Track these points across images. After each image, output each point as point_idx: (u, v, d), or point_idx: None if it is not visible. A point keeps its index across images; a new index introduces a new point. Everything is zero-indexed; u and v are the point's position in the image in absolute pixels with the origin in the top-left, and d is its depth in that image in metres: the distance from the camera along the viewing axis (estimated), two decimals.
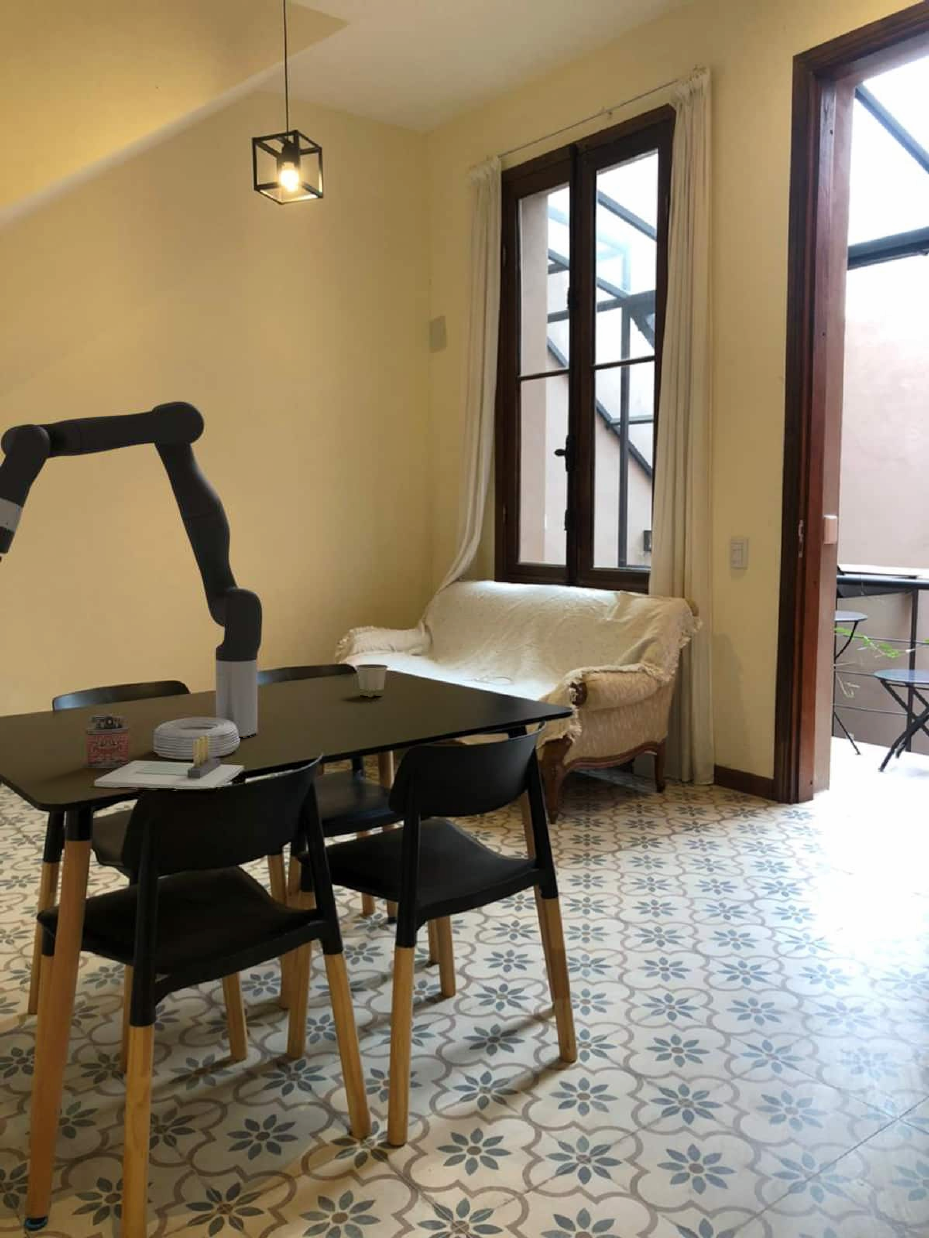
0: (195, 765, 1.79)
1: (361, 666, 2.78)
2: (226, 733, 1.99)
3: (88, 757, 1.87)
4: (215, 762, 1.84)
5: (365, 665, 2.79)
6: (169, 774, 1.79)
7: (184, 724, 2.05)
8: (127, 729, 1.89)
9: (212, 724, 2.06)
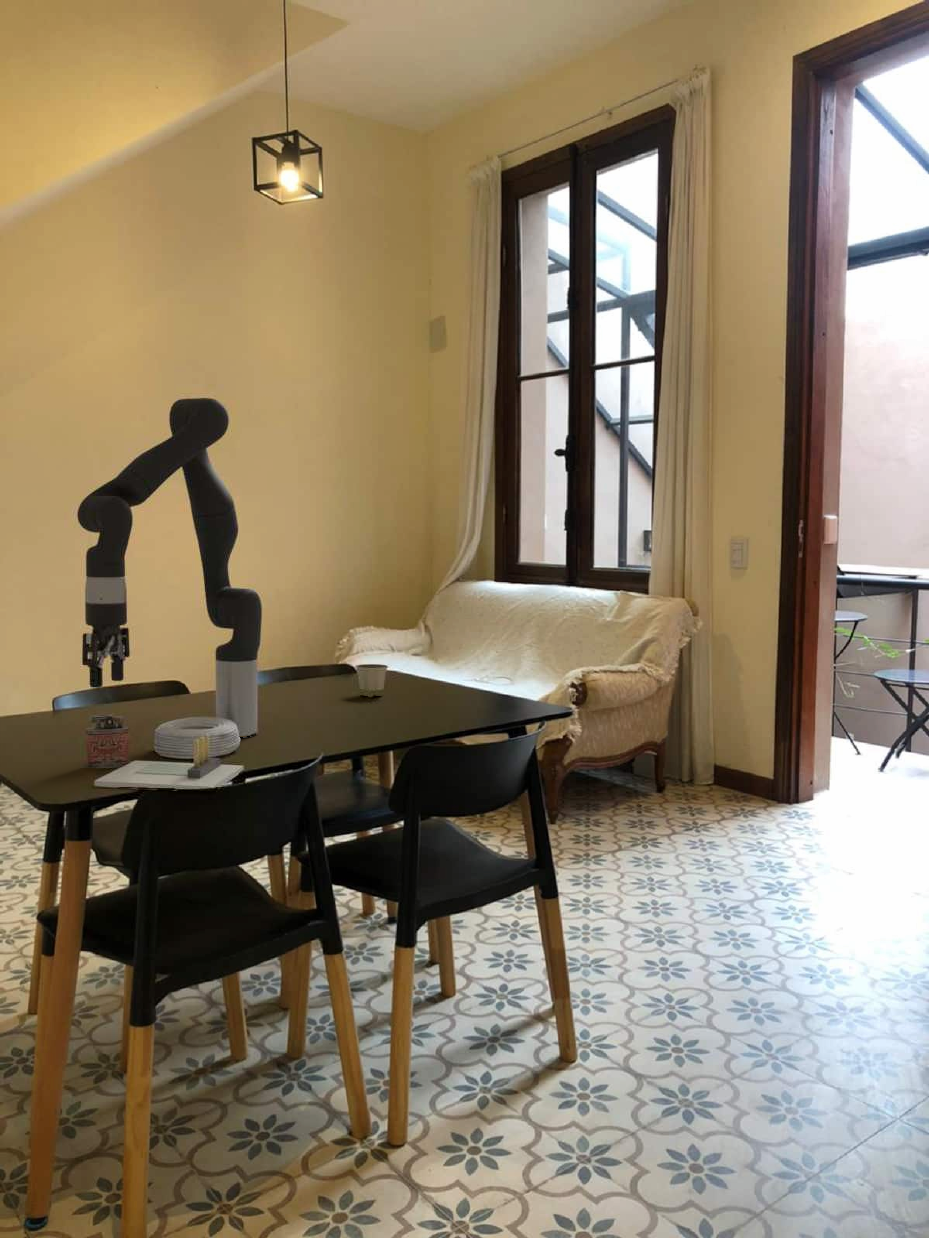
0: (195, 765, 1.79)
1: (361, 666, 2.78)
2: (227, 733, 1.99)
3: (88, 757, 1.87)
4: (215, 762, 1.84)
5: (365, 665, 2.79)
6: (169, 774, 1.79)
7: (185, 724, 2.06)
8: (127, 729, 1.89)
9: (213, 724, 2.06)
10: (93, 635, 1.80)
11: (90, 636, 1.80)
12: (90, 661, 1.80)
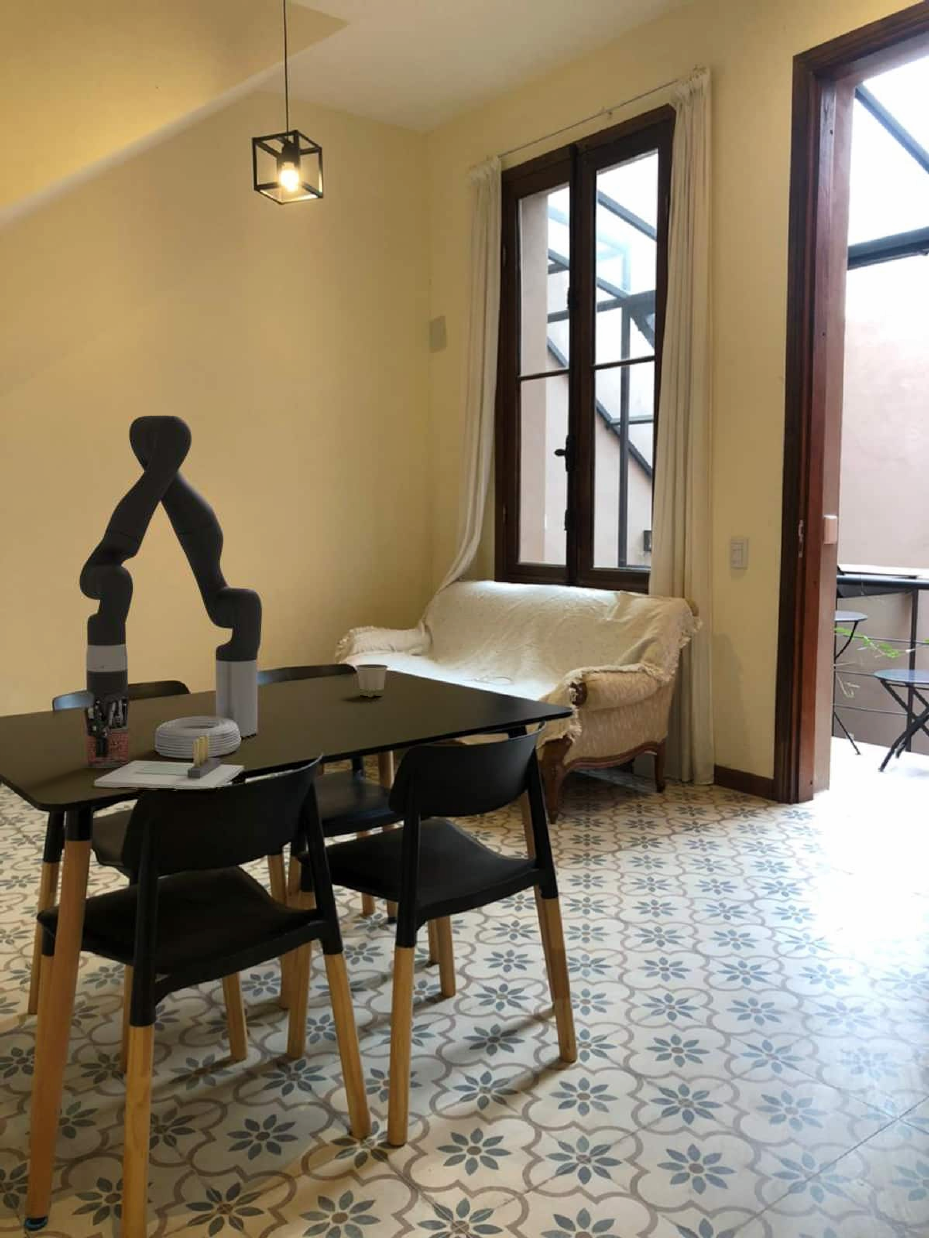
0: (195, 765, 1.79)
1: (361, 666, 2.78)
2: (227, 732, 2.00)
3: (88, 757, 1.87)
4: (215, 762, 1.84)
5: (365, 665, 2.79)
6: (169, 774, 1.79)
7: (185, 723, 2.06)
8: (127, 729, 1.89)
9: (213, 723, 2.07)
10: (94, 711, 1.82)
11: (92, 712, 1.82)
12: (96, 734, 1.83)
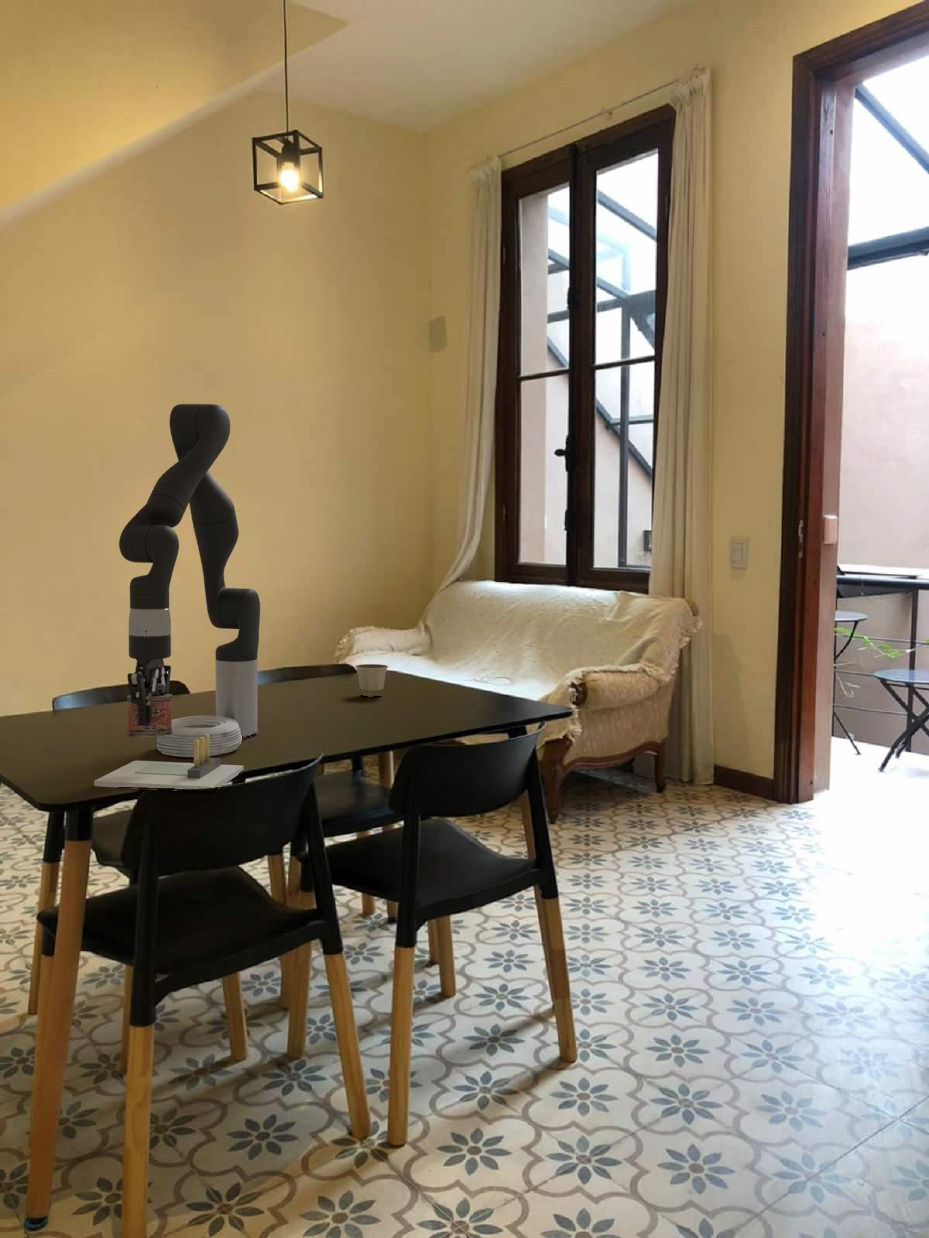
0: (195, 765, 1.79)
1: (361, 666, 2.78)
2: (228, 731, 2.01)
3: (130, 725, 1.80)
4: (215, 762, 1.84)
5: (365, 665, 2.79)
6: (169, 774, 1.79)
7: (187, 722, 2.07)
8: (170, 697, 1.82)
9: (215, 722, 2.08)
10: (138, 676, 1.75)
11: (135, 677, 1.75)
12: (139, 700, 1.77)
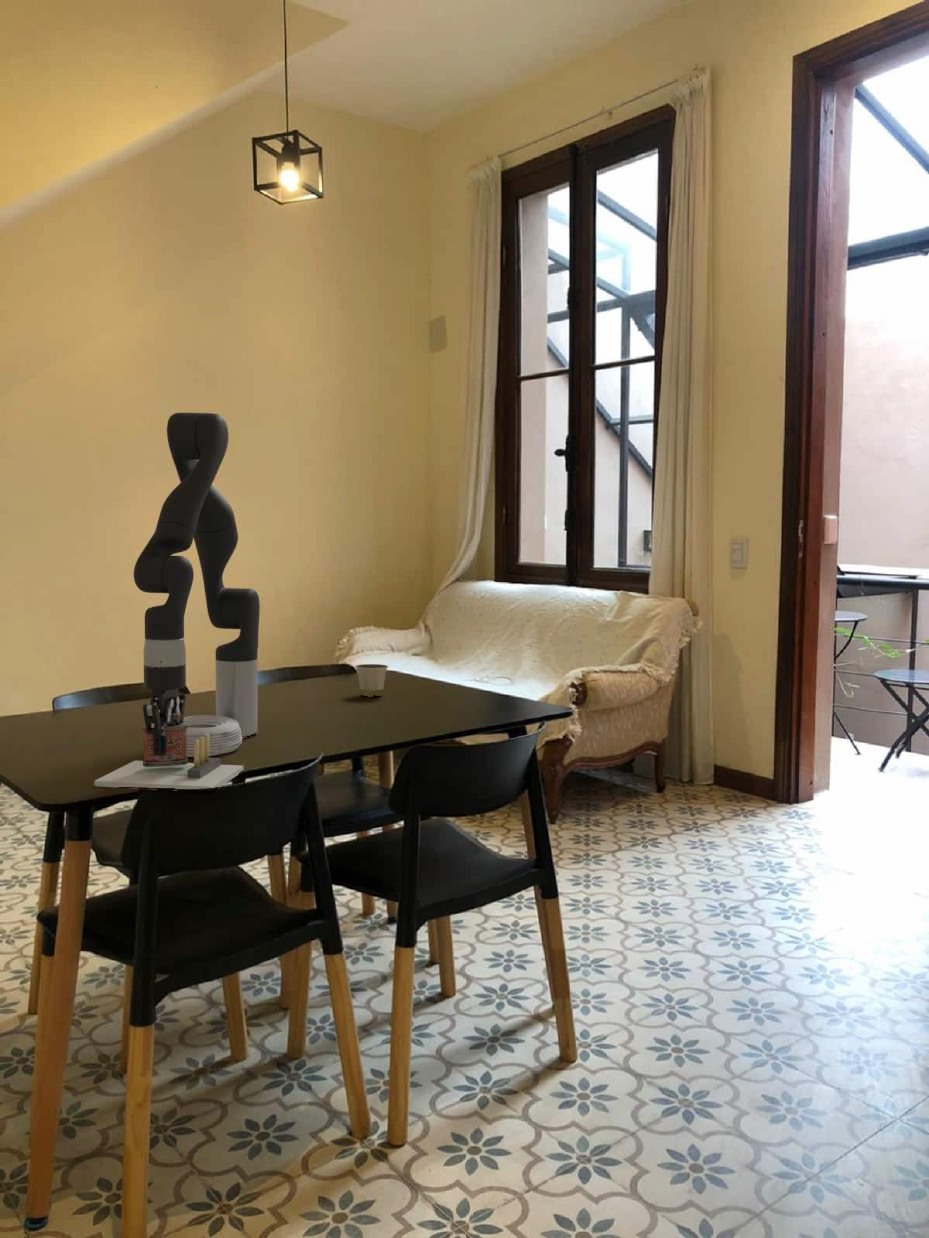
0: (195, 765, 1.79)
1: (361, 666, 2.78)
2: (229, 731, 2.01)
3: (145, 755, 1.81)
4: (215, 762, 1.84)
5: (365, 665, 2.79)
6: (169, 774, 1.79)
7: (187, 722, 2.08)
8: (185, 726, 1.82)
9: (215, 722, 2.08)
10: (153, 707, 1.75)
11: (150, 708, 1.75)
12: (154, 731, 1.77)
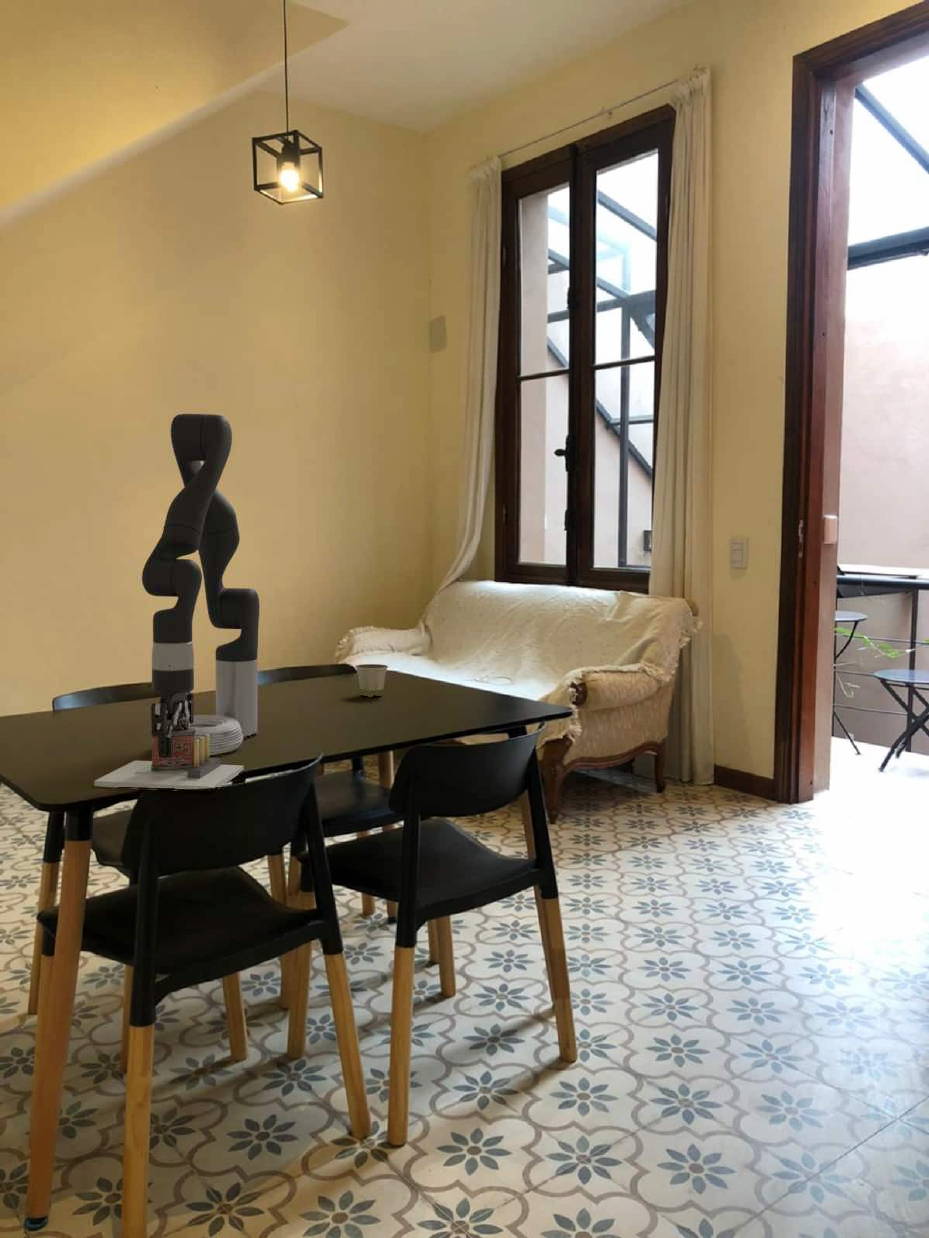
0: (195, 765, 1.79)
1: (361, 666, 2.78)
2: (229, 730, 2.02)
3: (153, 760, 1.81)
4: (215, 762, 1.84)
5: (365, 665, 2.79)
6: (169, 774, 1.79)
7: None
8: (193, 731, 1.82)
9: (216, 722, 2.09)
10: (162, 706, 1.75)
11: (159, 707, 1.75)
12: (160, 732, 1.75)
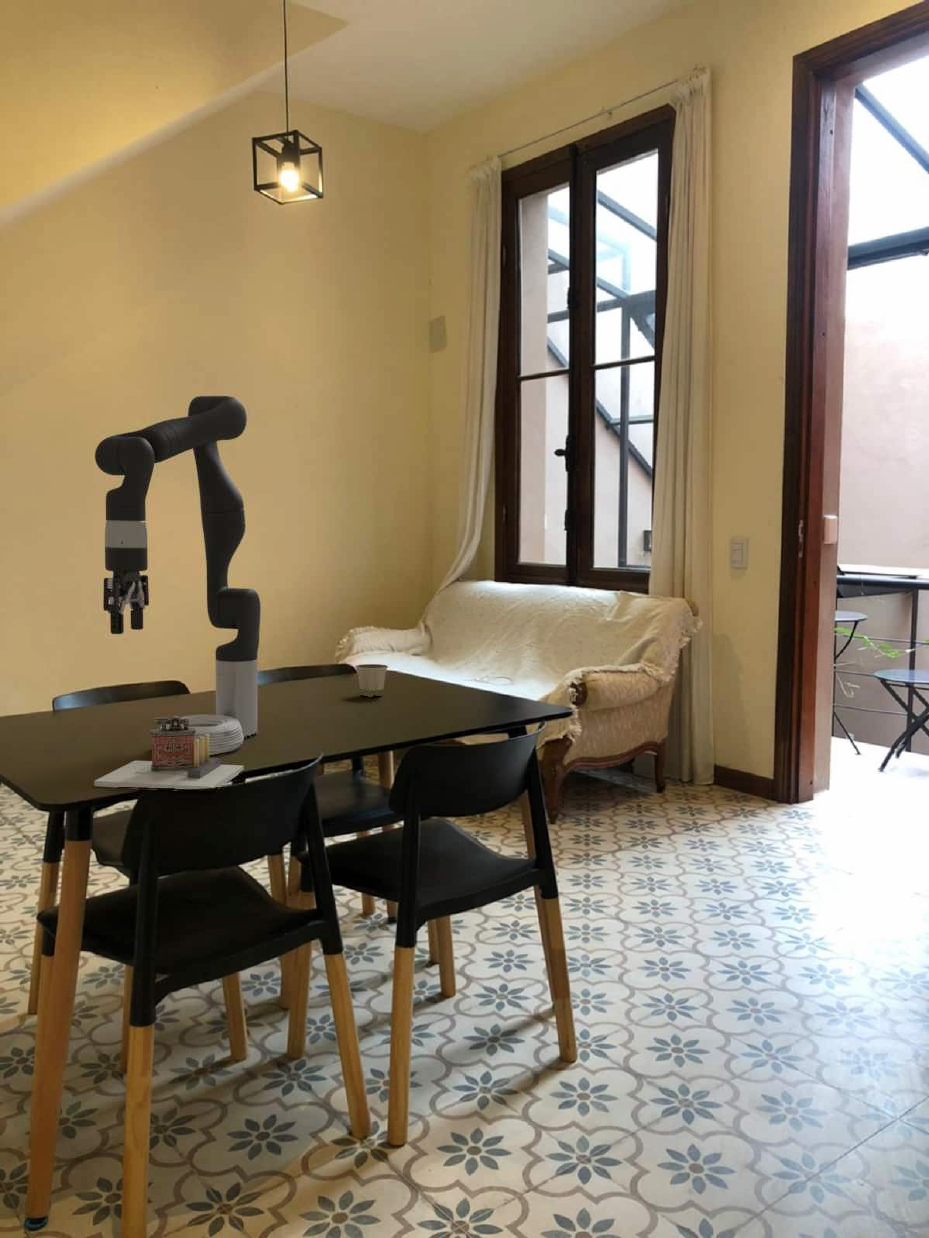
0: (195, 765, 1.79)
1: (361, 666, 2.78)
2: (230, 730, 2.02)
3: (153, 760, 1.81)
4: (215, 762, 1.84)
5: (365, 665, 2.79)
6: (169, 774, 1.79)
7: (189, 721, 2.09)
8: (193, 731, 1.82)
9: (216, 721, 2.09)
10: (115, 579, 1.75)
11: (111, 580, 1.75)
12: (111, 606, 1.75)
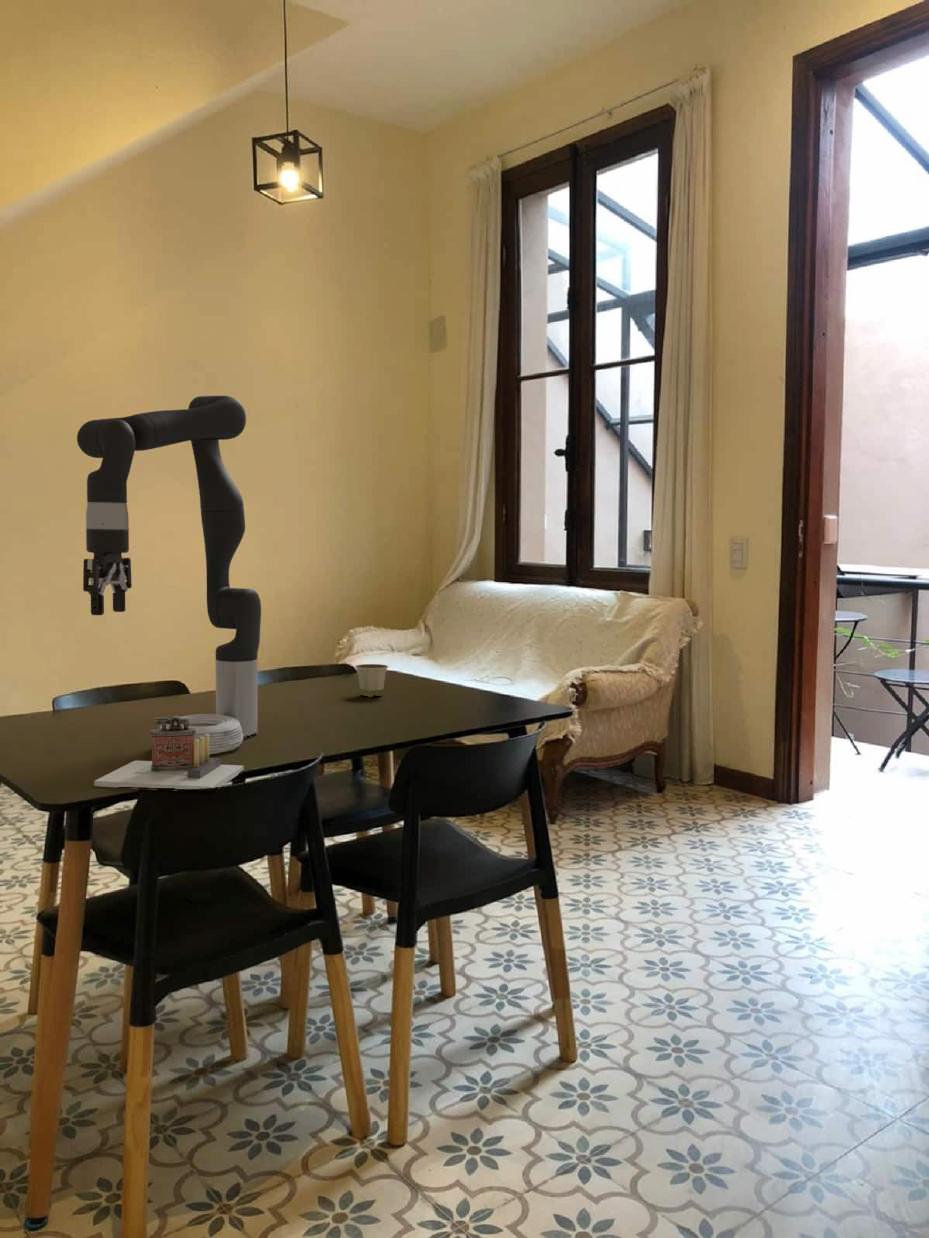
0: (195, 765, 1.79)
1: (361, 666, 2.78)
2: (230, 730, 2.02)
3: (153, 760, 1.81)
4: (215, 762, 1.84)
5: (365, 665, 2.79)
6: (169, 774, 1.79)
7: (189, 721, 2.09)
8: (193, 731, 1.82)
9: (216, 721, 2.09)
10: (94, 560, 1.76)
11: (91, 561, 1.76)
12: (91, 587, 1.76)
